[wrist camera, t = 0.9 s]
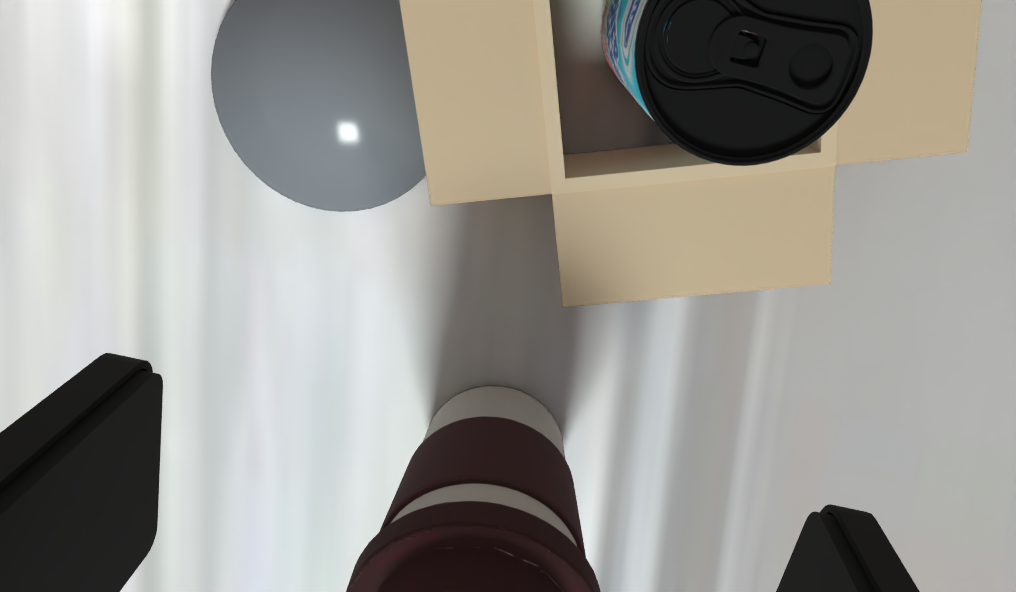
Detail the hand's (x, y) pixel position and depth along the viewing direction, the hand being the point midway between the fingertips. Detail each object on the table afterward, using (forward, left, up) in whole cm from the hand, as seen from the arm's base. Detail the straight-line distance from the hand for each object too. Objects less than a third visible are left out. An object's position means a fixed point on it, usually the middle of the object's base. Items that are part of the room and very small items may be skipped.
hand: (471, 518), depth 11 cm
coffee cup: (+3, +15, -27) cm, 31 cm away
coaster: (+8, -4, -27) cm, 28 cm away
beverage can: (-7, -5, -27) cm, 28 cm away
